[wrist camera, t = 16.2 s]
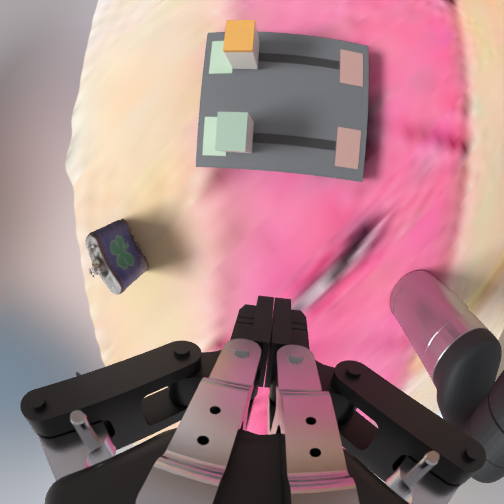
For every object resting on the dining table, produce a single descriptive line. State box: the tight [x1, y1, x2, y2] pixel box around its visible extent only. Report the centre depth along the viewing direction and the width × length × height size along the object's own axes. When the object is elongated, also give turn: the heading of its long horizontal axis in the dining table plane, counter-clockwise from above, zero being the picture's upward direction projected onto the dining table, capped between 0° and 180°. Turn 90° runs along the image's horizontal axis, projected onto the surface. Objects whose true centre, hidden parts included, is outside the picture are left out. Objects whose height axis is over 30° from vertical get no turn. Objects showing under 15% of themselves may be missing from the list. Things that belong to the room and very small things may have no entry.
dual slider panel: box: [196, 32, 369, 182], centre depth 32 cm, size 21×19×3 cm
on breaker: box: [215, 112, 254, 153], centre depth 29 cm, size 3×4×7 cm
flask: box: [85, 219, 148, 294], centre depth 37 cm, size 9×3×11 cm, turn 24°
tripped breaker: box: [223, 20, 260, 69], centre depth 25 cm, size 3×4×7 cm
